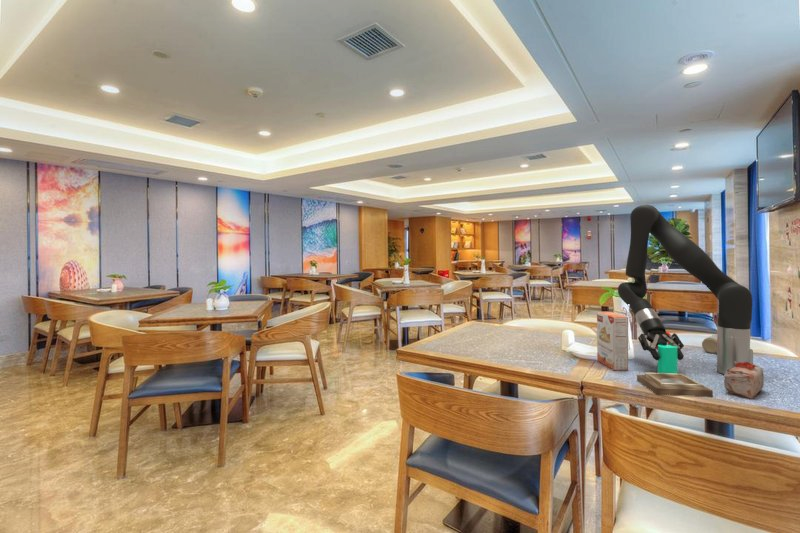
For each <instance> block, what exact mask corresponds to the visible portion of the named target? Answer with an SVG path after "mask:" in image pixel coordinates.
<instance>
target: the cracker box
mask: <svg viewBox="0 0 800 533" xmlns="http://www.w3.org/2000/svg"><path fill="white" fill-rule="evenodd" d="M596 319H597V320H596V324H597V326H596V329H597V330H596V340H597V343H596V345H597V346H596V347H597V349H596V350H597V351H596V352H597V353H596V354H597V356H596V358H597V361H598V362H599V363H601V364H603V365H604V366H606V367H607V368H609V369H610V370H612V371H617V372H618V371H629V317H628V316H626V315H625V316H624V315H622V314H619V313H616V312H613V311H597V312H596Z"/></svg>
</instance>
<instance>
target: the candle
mask: <svg viewBox="0 0 800 533" xmlns="http://www.w3.org/2000/svg"><path fill="white" fill-rule="evenodd" d="M657 352H658V354H659V356H660V359H659V360H657V373H674V374H678V358H677V347H675V346H671V345H668V342H667V345H658V348H657Z"/></svg>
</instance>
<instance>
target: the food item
mask: <svg viewBox="0 0 800 533" xmlns="http://www.w3.org/2000/svg"><path fill="white" fill-rule="evenodd" d="M734 362H735V365H736V366H735V367H734V368H732V369H730V367H729V368H728V369H727V370H726V372H725V374H723V377H724V379H723V385H724V389H725V390H726V391H727V392H728V393H729V394H733V395H734V394H735V396H739V397H742V398H747V399H753V398H754V397H755V396H756V395H757V394H759V392H760V391H762V389H763V388H764V368H763V367H762V366H760V365H757V364H754V363H753V364H750V363H748V362H744V363H741V362H740V363H738V362H736V361H734ZM729 369H730V370H729Z"/></svg>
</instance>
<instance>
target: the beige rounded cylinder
mask: <svg viewBox="0 0 800 533" xmlns="http://www.w3.org/2000/svg"><path fill="white" fill-rule="evenodd" d="M701 346H702V350H704V351H705V352H707V353H709V354H717V334H712V335H711V336H707V337H706V338H704V339H703V340H702V342H701Z"/></svg>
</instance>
